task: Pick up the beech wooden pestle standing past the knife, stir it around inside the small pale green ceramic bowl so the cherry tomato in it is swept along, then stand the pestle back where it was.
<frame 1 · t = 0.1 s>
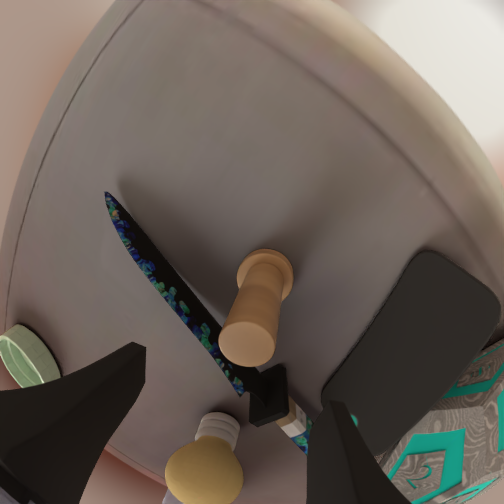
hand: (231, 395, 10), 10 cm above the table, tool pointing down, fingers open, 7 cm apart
smartphone: (341, 431, 19), point 3 cm above the table, touching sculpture
bowl: (36, 355, 27), on the table
light bulb: (222, 418, 25), on the table
pestle: (266, 274, 19), on the table
knife: (245, 344, 21), on the table
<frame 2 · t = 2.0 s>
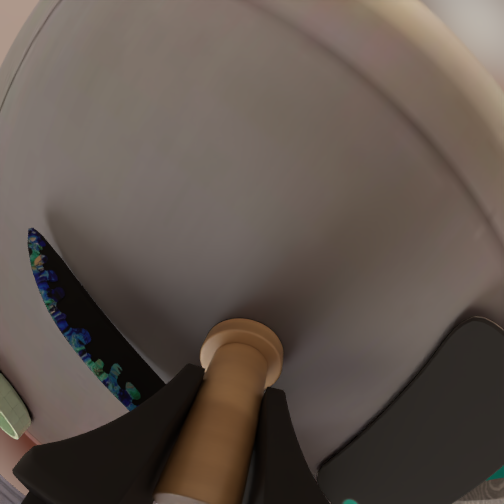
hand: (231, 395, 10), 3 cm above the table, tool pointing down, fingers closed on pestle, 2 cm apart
bowl: (5, 391, 21), on the table
pestle: (243, 351, 13), on the table, touching gripper
knife: (221, 423, 15), on the table
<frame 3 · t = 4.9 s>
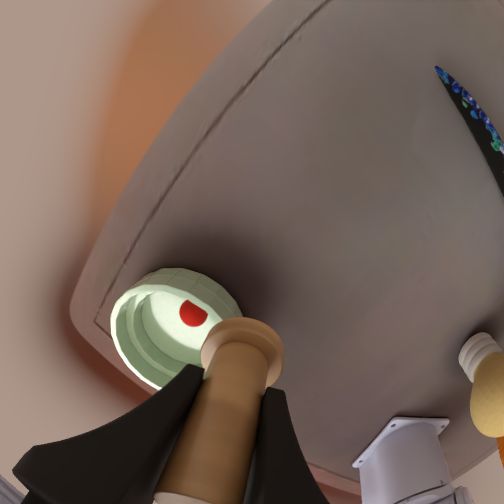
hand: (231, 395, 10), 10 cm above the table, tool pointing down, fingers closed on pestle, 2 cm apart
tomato: (193, 312, 20), point 1 cm above the table, touching bowl
bowl: (186, 323, 22), on the table
light bulb: (471, 345, 19), on the table
carrot: (498, 414, 21), on the table
pestle: (244, 350, 13), point 8 cm above the table, touching gripper
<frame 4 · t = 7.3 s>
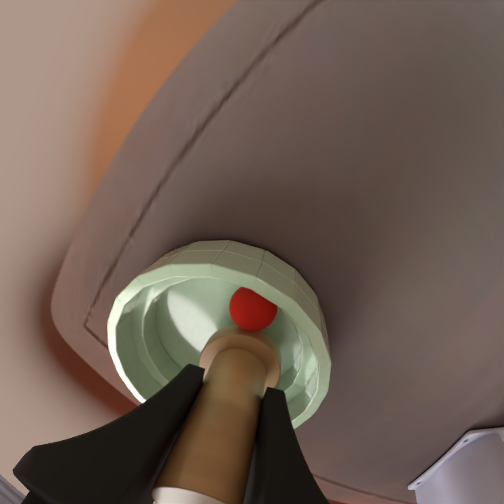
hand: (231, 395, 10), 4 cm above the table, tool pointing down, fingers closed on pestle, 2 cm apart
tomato: (253, 307, 12), point 1 cm above the table, tilted 13°, touching bowl, pestle
bowl: (227, 330, 14), on the table
pestle: (242, 358, 13), point 2 cm above the table, tilted 6°, touching gripper, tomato
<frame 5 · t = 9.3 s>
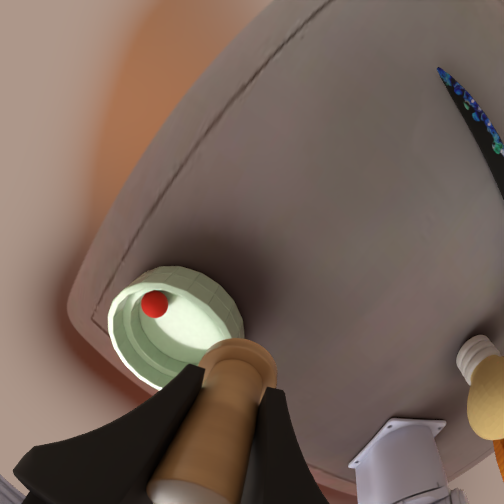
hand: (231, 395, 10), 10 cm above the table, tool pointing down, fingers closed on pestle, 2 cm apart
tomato: (154, 304, 20), point 1 cm above the table, tilted 129°, touching bowl
bowl: (183, 322, 22), on the table
light bulb: (469, 347, 19), on the table
carrot: (495, 416, 21), on the table
pestle: (238, 372, 13), point 8 cm above the table, tilted 13°, touching gripper
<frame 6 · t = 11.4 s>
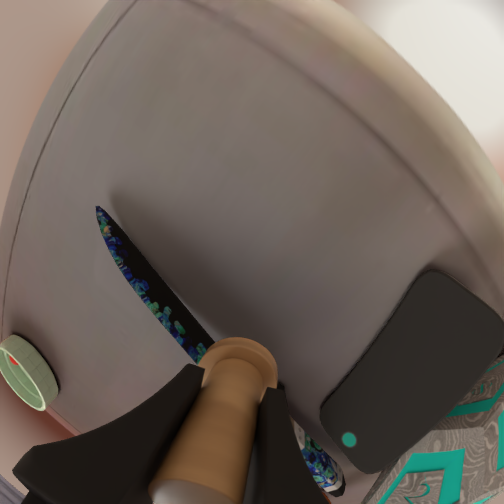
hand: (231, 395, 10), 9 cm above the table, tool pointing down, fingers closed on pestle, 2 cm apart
smartphone: (340, 448, 18), point 3 cm above the table, touching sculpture
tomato: (16, 357, 25), point 1 cm above the table, tilted 112°, touching bowl
bowl: (33, 365, 26), on the table
carrot: (319, 489, 26), on the table
pestle: (239, 371, 13), point 6 cm above the table, tilted 13°, touching gripper
knife: (243, 362, 20), on the table
when the fingers open (3 cm above the table, at t = 13.1 s): pestle stays where it is, on the table.
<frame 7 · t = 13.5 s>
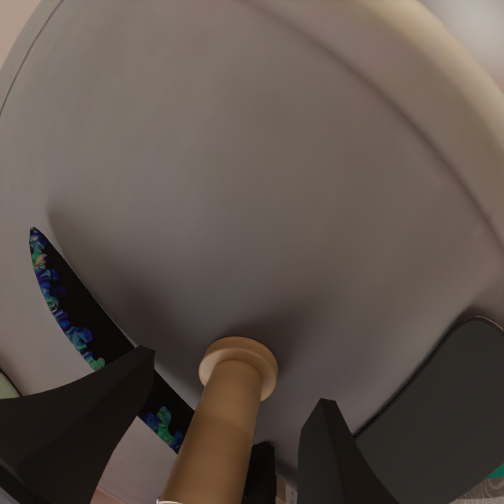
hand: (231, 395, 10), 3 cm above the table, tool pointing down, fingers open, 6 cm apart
bowl: (5, 390, 21), on the table
pestle: (240, 366, 13), on the table
knife: (222, 421, 15), on the table
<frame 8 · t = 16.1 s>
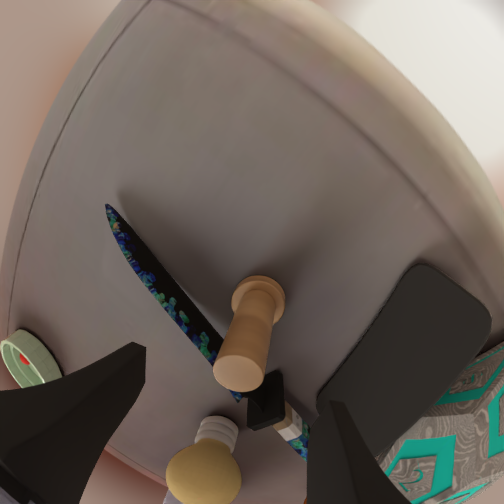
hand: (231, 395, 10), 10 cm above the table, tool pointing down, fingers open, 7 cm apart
smartphone: (336, 435, 19), point 3 cm above the table, touching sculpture
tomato: (26, 357, 26), point 1 cm above the table, tilted 71°, touching bowl
bowl: (39, 359, 28), on the table
light bulb: (221, 422, 25), on the table
pestle: (259, 298, 20), on the table
knife: (243, 351, 22), on the table
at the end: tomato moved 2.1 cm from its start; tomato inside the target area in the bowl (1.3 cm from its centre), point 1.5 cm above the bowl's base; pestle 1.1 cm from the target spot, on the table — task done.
